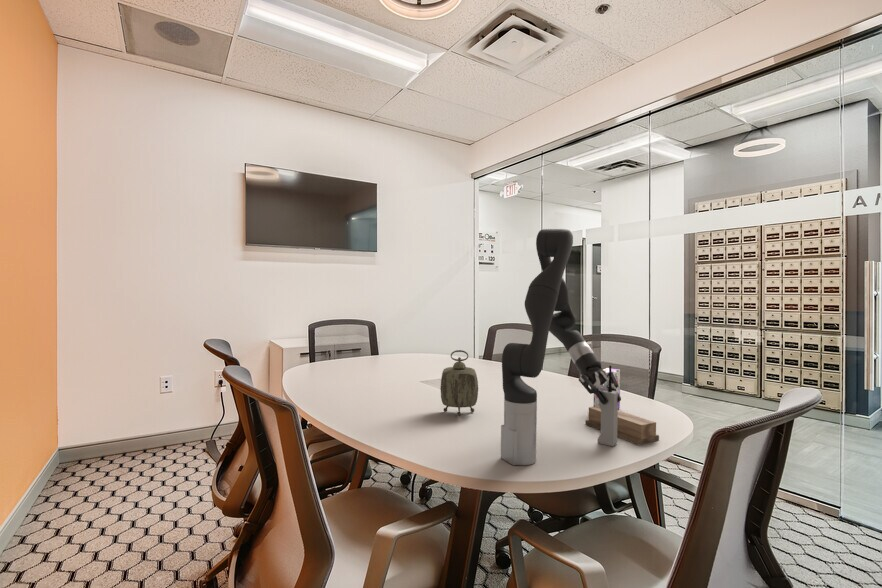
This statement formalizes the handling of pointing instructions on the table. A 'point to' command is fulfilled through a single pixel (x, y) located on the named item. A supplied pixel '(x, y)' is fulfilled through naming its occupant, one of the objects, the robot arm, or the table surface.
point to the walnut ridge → (627, 426)
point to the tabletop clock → (459, 385)
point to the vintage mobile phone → (609, 416)
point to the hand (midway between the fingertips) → (612, 402)
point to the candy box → (617, 377)
